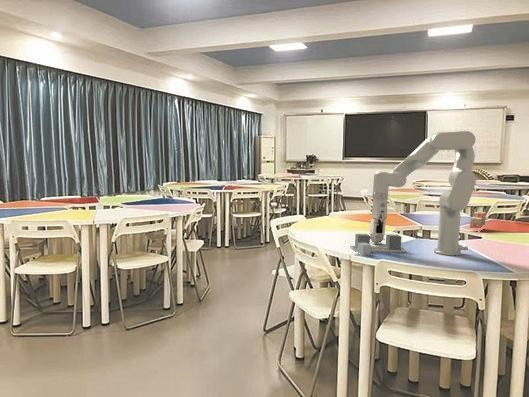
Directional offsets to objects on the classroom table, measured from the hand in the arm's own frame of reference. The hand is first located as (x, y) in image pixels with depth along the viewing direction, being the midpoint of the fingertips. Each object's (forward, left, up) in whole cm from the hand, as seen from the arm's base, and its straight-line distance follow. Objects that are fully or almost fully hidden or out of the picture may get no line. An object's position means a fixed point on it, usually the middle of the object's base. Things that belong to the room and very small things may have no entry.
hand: (377, 231), depth 216 cm
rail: (-1, 0, -9) cm, 9 cm away
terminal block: (+9, +10, -9) cm, 17 cm away
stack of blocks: (-96, -74, -10) cm, 122 cm away
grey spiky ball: (-6, -17, -10) cm, 20 cm away
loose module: (0, 0, -1) cm, 1 cm away
